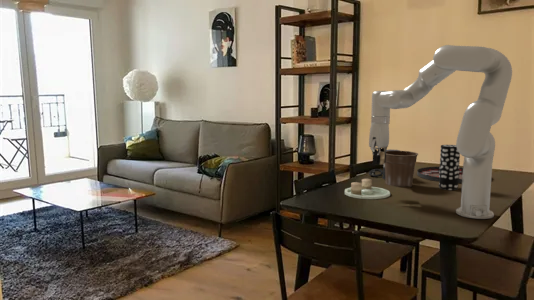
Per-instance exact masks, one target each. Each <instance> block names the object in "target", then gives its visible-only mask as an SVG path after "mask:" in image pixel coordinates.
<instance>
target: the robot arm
mask: <svg viewBox="0 0 534 300" xmlns="http://www.w3.org/2000/svg"><path fill="white" fill-rule="evenodd" d="M432 58H433V59H431V60H430V61H429V62H428V63H427V64H425V65H424V66H423V67H421V68H420V69H419V70H418V76H417V78H416V80H414V82H412V83H411V84H410V85H409V86H407V87H405V88H404V89H397V90H396V89H394V90H374V91H373V92H372V94H371V112H370V113H371V115H370V116H371V117H370V120H371V121H370V129H369V137H368V147H369V148H370V150H371V152H372V165H377V166H378V165H379V164H380V155H379V154H380V152H385V158H384V163H385V162H386V150H388V147H389V144H390V122H391V120H390V118H391V110H401V109H408V108H410V107H412V106H414V105H415V104H416V103H418V102H420V101H421V100H422V99H423V98H425V97H426V96H427V95H428V94H429V93H430V92H431V91H432V90H433V88H434V87H436V86H437V85H439V84H440V83H441V82H442V81H444V80H445V79H447V77H449V76H451V75H452V74H454V73H455V72H456V71H457V72H458V71H459V72H472V73H473V72H474V73H481V74H483V73H484V76H485V77H484V79H483V81H482V85H481V87H480V90H479V91H480V92H479V93H478V94H479V95H478V98H477V100H474V101H473V102H471V103H470V104H468V106H467V107H466V109H465V111H464V112H463V117H462V120H461V123H460V126H459V131H458V134H457V138H456V142H455V145H456V147H457V150H458V152H459V153H460V155H461V156H462V157H463V164H462V168H463V175H462V183H461V195H460V207H458V208H456V209H455V213H456V214H457V215H459V216H461V217H464V218H468V219H475V220H486V219H487V220H488V219H493V218H494V216H495V214H494V211H492V210H490V205H491V204H490V203H491V190H492V186H491V185H492V173H493V162H494V155H495V150H496V149H495V148H496V140H495V137H494V135H493V134H492V133H491V128H492V126H494V125H496V124H497V123H498V122H499V121H500V119H501V117H502V113H503V110H504V107H505V103H506V100H507V96H508V91H509V89H510V86H511V82H512V79H513V68H512V65H511V62H510V60H509V58H508V57H507V56H506V55H505V54H503V52H501V51H499V50H498V49H495V48H491V47H487V46H479V45H478V46H477V45H475V46H474V45H472V46H471V45H454V44H453V45H451V44H446V45H442V46H440V47H439V48H437V49H436V51H435V52H434V54H433V57H432ZM379 166H380V165H379Z"/></svg>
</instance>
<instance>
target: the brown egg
mask: <svg viewBox="0 0 534 300" xmlns="http://www.w3.org/2000/svg"><path fill="white" fill-rule="evenodd" d="M379 155H380V164H379V166H380V165H383V164H384V158H385V152H380V154H379Z"/></svg>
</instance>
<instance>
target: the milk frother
mask: <svg viewBox="0 0 534 300" xmlns="http://www.w3.org/2000/svg"><path fill="white" fill-rule="evenodd" d="M386 151H401V150H399V149H387V150H386ZM382 167H383V168H382V169H381V168H374V169H371V170H369V172H368V175H369V176H371V177H374V178H375V177H376V178H377V177H381V176H382V179H383V180H386V178H385V163H384V164H383V166H382ZM376 172H380V173H379V174H376Z"/></svg>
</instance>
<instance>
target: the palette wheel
mask: <svg viewBox="0 0 534 300" xmlns="http://www.w3.org/2000/svg"><path fill="white" fill-rule="evenodd" d="M439 174H440V166H427V167H421V168H418V169H417V171H416V175H417V176H418V177H420V178H422V179H425V180H430V181H436V182H439ZM462 175H463V167H460V166H459V181H458V184H462Z"/></svg>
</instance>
